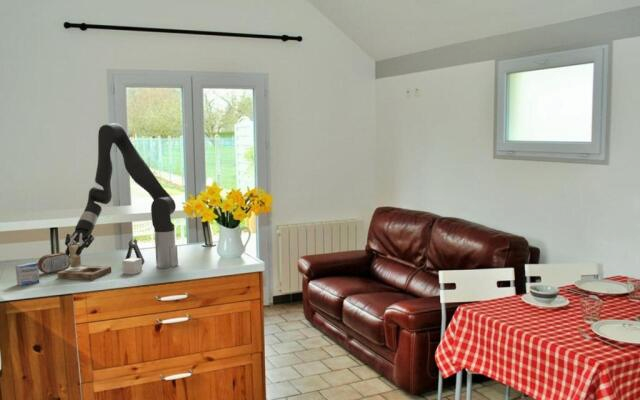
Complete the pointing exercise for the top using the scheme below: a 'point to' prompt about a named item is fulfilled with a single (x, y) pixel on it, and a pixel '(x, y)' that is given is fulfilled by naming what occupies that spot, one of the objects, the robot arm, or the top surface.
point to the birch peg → (74, 256)
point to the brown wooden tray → (85, 273)
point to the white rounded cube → (132, 265)
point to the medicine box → (27, 273)
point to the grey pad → (75, 269)
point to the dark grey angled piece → (136, 249)
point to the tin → (54, 262)
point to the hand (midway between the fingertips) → (72, 254)
